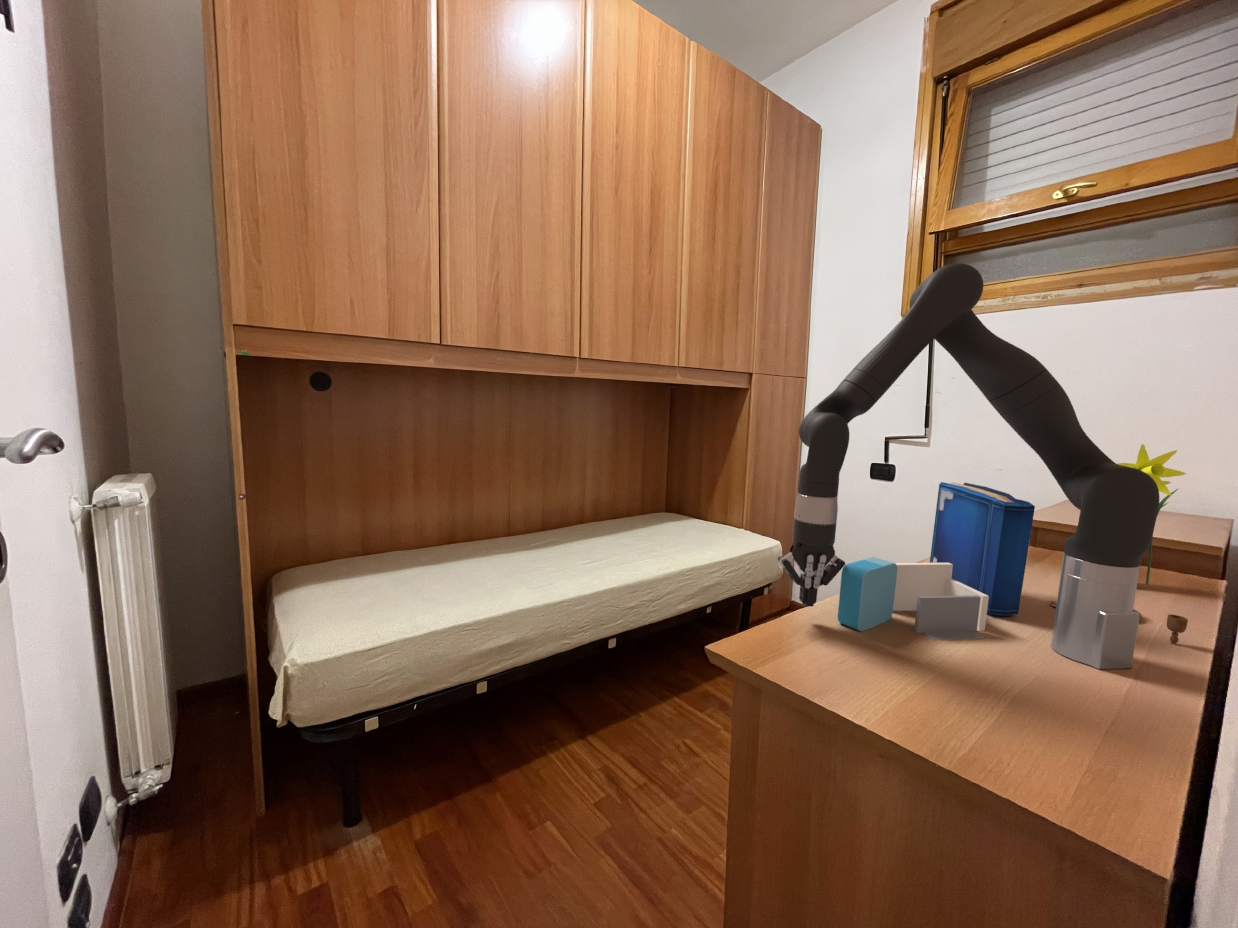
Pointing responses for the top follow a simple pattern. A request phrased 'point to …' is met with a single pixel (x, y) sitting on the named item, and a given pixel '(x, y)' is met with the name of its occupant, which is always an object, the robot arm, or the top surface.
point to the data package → (867, 593)
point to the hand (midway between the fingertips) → (807, 604)
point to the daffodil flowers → (1155, 471)
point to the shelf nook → (939, 601)
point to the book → (984, 541)
